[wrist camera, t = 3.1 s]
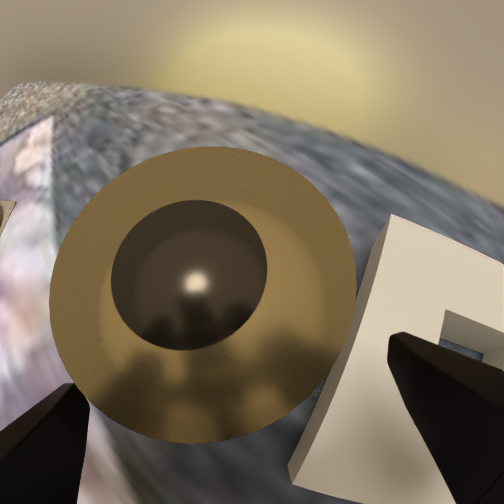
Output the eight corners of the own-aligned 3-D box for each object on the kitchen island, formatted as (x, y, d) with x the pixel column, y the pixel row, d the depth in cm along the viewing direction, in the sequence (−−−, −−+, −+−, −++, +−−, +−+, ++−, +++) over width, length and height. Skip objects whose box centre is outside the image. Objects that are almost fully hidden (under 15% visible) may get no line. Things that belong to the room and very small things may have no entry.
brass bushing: (270, 425, 15) (272, 502, 3) (180, 384, 16) (8, 333, 4) (309, 337, 17) (388, 195, 5) (222, 301, 18) (146, 124, 7)
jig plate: (478, 502, 11) (513, 513, 7) (287, 465, 14) (292, 484, 10) (526, 314, 16) (560, 295, 13) (371, 247, 19) (391, 213, 16)
